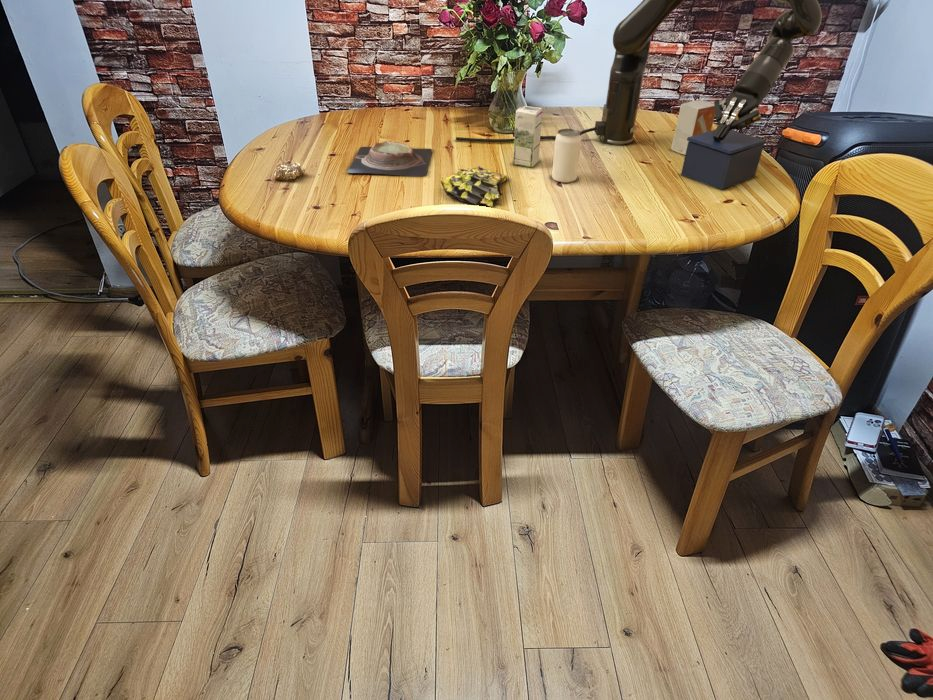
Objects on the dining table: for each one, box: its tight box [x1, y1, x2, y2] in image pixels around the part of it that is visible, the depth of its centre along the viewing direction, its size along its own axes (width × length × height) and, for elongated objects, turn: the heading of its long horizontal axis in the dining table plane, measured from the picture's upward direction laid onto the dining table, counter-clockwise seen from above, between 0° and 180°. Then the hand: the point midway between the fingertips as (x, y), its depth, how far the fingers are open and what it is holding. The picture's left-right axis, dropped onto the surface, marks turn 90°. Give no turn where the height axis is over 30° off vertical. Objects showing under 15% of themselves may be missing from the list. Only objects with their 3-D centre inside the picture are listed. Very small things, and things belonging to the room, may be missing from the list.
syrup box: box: [512, 105, 543, 168], centre depth 166 cm, size 6×6×14 cm
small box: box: [670, 99, 715, 156], centre depth 175 cm, size 8×6×13 cm
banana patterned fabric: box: [440, 165, 509, 208], centre depth 155 cm, size 20×16×6 cm
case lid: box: [687, 129, 766, 154], centre depth 158 cm, size 15×13×1 cm
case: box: [680, 141, 765, 191], centre depth 161 cm, size 15×13×9 cm
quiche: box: [346, 140, 433, 177], centre depth 169 cm, size 21×20×4 cm
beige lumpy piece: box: [273, 162, 306, 181], centre depth 159 cm, size 8×7×4 cm
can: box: [551, 128, 582, 184], centre depth 158 cm, size 6×6×12 cm
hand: (716, 139), depth 155 cm, fingers closed
